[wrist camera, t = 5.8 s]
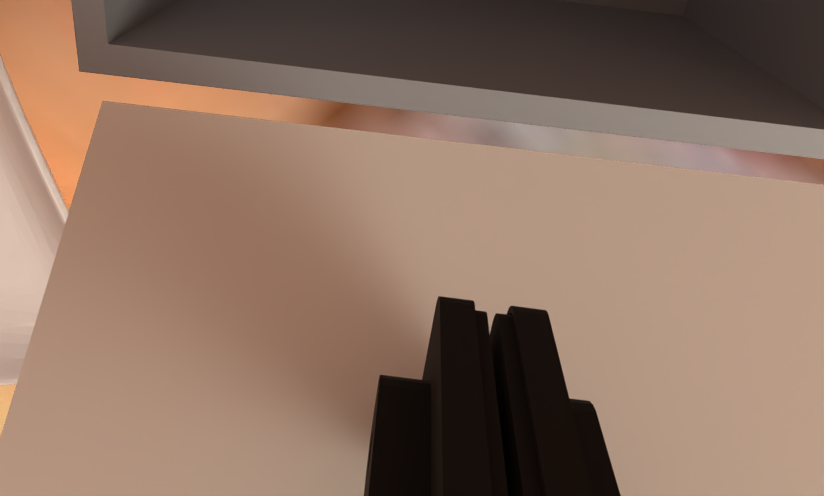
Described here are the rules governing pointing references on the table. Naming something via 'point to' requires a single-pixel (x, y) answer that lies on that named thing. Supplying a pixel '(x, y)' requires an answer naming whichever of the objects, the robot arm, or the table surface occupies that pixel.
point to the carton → (497, 60)
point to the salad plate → (23, 230)
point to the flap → (406, 308)
